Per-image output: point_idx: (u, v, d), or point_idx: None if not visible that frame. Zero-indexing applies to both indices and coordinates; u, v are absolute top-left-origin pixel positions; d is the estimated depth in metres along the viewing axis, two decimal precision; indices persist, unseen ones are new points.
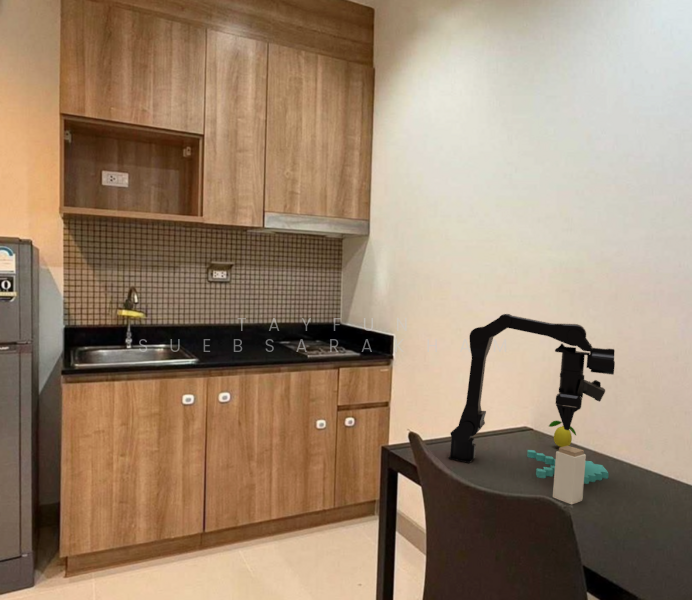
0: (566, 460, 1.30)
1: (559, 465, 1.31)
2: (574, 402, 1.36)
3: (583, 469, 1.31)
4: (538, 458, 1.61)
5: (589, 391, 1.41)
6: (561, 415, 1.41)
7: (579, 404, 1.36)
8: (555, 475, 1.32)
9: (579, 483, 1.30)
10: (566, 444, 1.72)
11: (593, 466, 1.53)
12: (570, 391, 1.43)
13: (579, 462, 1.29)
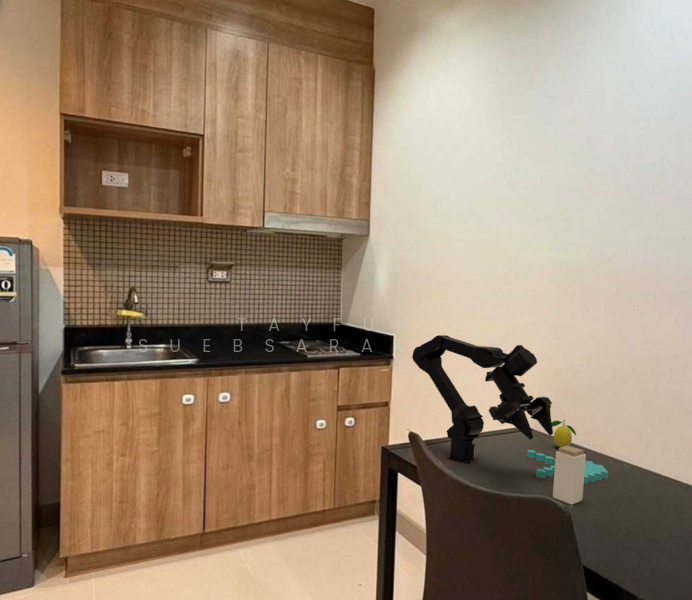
0: (566, 460, 1.30)
1: (559, 465, 1.31)
2: None
3: (583, 469, 1.31)
4: (538, 458, 1.61)
5: None
6: None
7: None
8: (555, 475, 1.32)
9: (579, 483, 1.30)
10: (566, 444, 1.72)
11: (593, 466, 1.53)
12: None
13: (579, 462, 1.29)
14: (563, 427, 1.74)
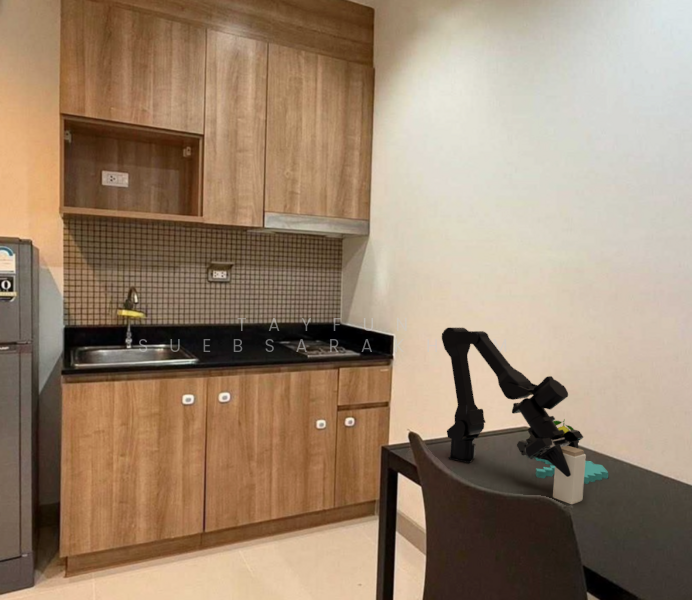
0: (566, 460, 1.30)
1: None
2: None
3: (583, 469, 1.31)
4: None
5: None
6: None
7: None
8: (555, 475, 1.32)
9: (579, 483, 1.30)
10: None
11: (593, 466, 1.53)
12: None
13: (579, 462, 1.29)
14: (563, 427, 1.74)
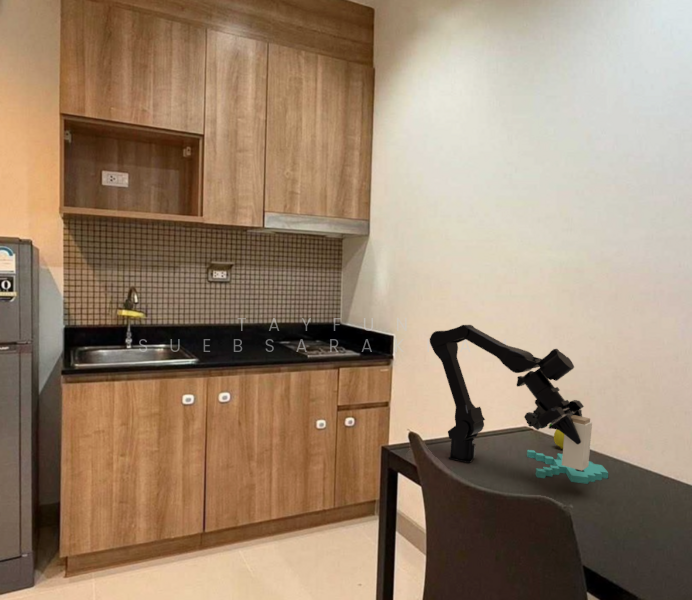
0: (576, 428, 1.34)
1: None
2: None
3: (590, 436, 1.36)
4: (538, 458, 1.61)
5: None
6: None
7: None
8: (564, 443, 1.36)
9: (587, 450, 1.35)
10: None
11: (593, 466, 1.53)
12: None
13: (588, 430, 1.34)
14: None
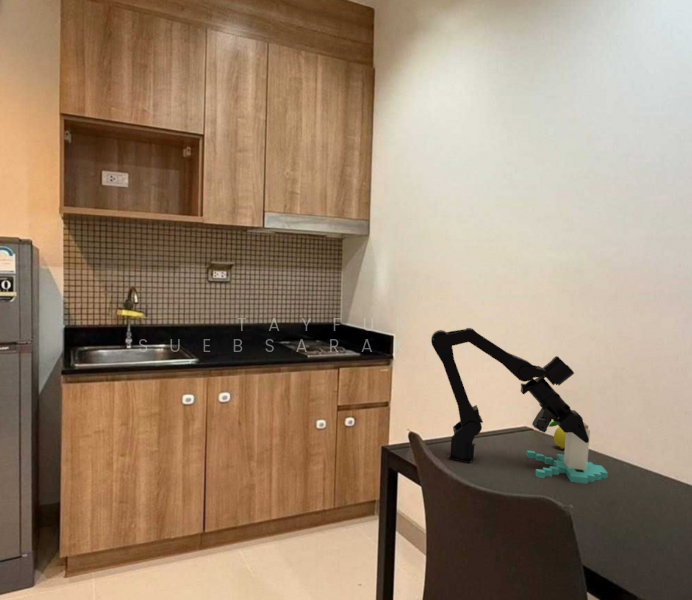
0: None
1: (574, 439, 1.50)
2: None
3: None
4: (537, 459, 1.61)
5: None
6: None
7: None
8: (571, 448, 1.50)
9: None
10: None
11: (592, 467, 1.53)
12: None
13: None
14: None
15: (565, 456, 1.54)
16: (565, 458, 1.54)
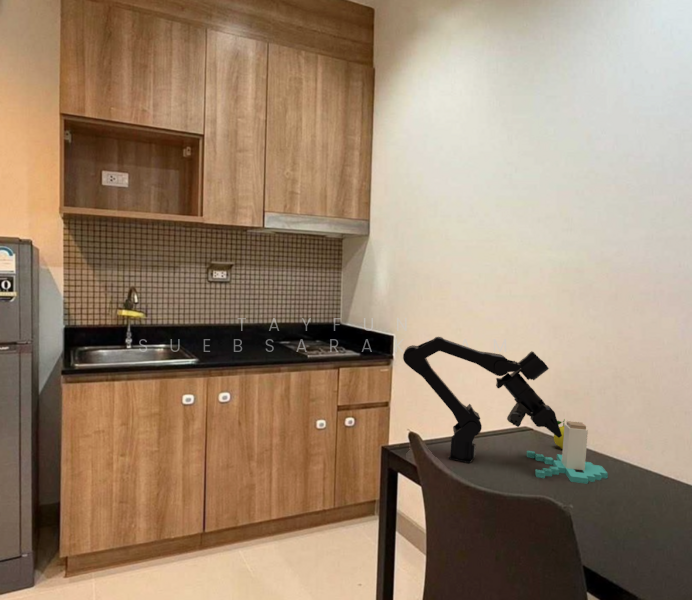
0: (579, 434, 1.50)
1: (572, 439, 1.50)
2: None
3: None
4: (537, 459, 1.61)
5: None
6: None
7: None
8: (568, 449, 1.51)
9: None
10: None
11: (592, 467, 1.53)
12: None
13: None
14: (563, 427, 1.74)
15: (563, 456, 1.54)
16: (563, 458, 1.54)
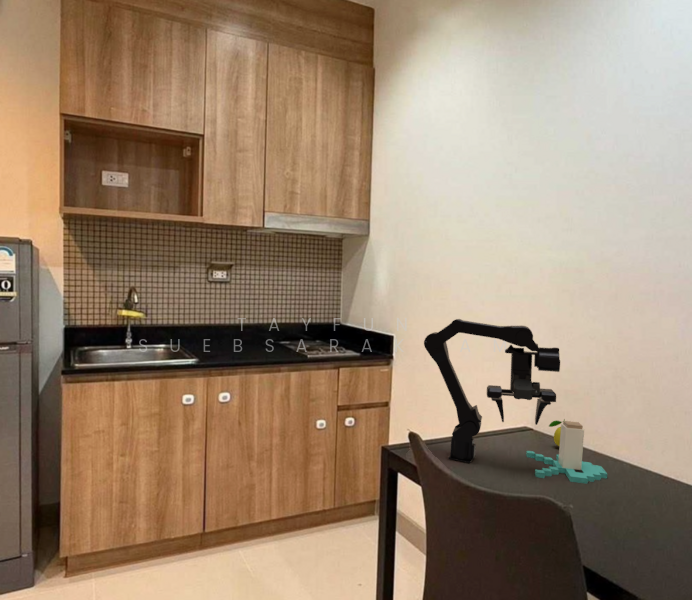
0: (575, 433, 1.50)
1: (569, 439, 1.51)
2: (487, 392, 1.53)
3: None
4: (537, 459, 1.61)
5: (513, 388, 1.49)
6: None
7: (488, 394, 1.52)
8: (565, 448, 1.51)
9: None
10: None
11: (592, 467, 1.53)
12: (510, 387, 1.53)
13: None
14: None
15: (560, 456, 1.55)
16: (560, 458, 1.54)
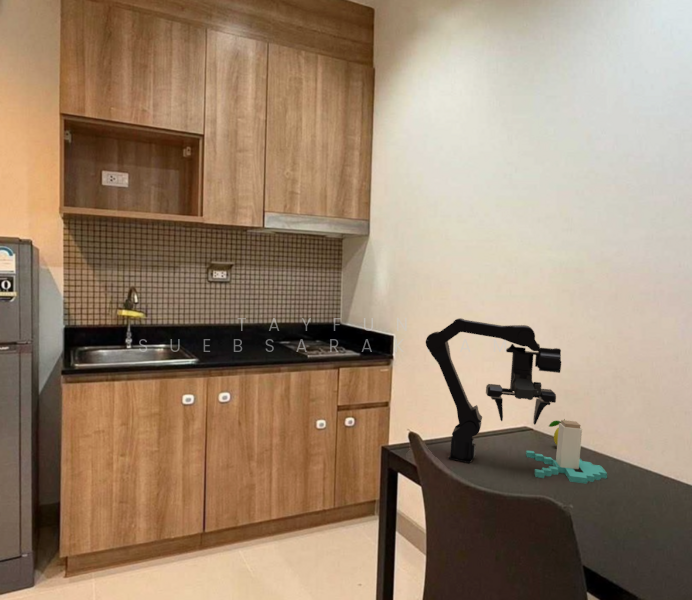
0: (573, 433, 1.51)
1: (566, 438, 1.51)
2: (487, 391, 1.53)
3: None
4: (537, 459, 1.61)
5: (514, 387, 1.48)
6: (497, 405, 1.55)
7: (488, 393, 1.52)
8: (563, 447, 1.51)
9: None
10: None
11: (592, 467, 1.53)
12: (510, 387, 1.53)
13: None
14: None
15: (557, 455, 1.55)
16: (557, 457, 1.55)
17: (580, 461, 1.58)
